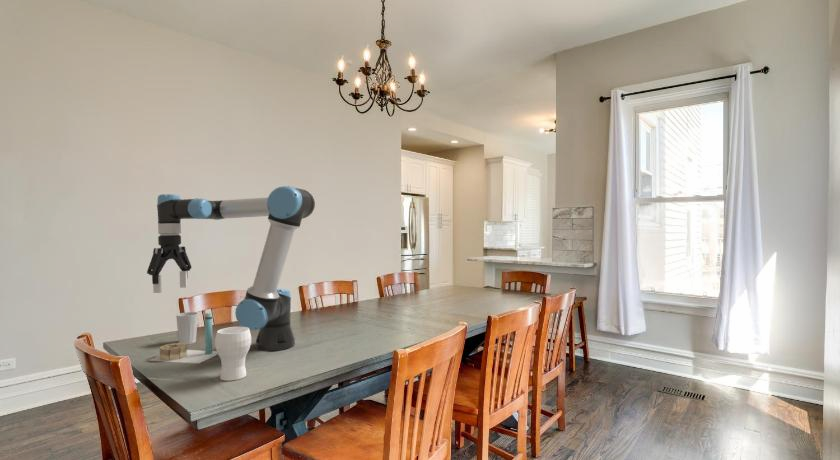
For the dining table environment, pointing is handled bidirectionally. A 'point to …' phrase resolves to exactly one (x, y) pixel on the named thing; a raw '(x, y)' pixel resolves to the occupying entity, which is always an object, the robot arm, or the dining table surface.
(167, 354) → the bead
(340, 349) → the dining table surface
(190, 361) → the mat
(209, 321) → the teal marker pen
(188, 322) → the cup
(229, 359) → the cup
